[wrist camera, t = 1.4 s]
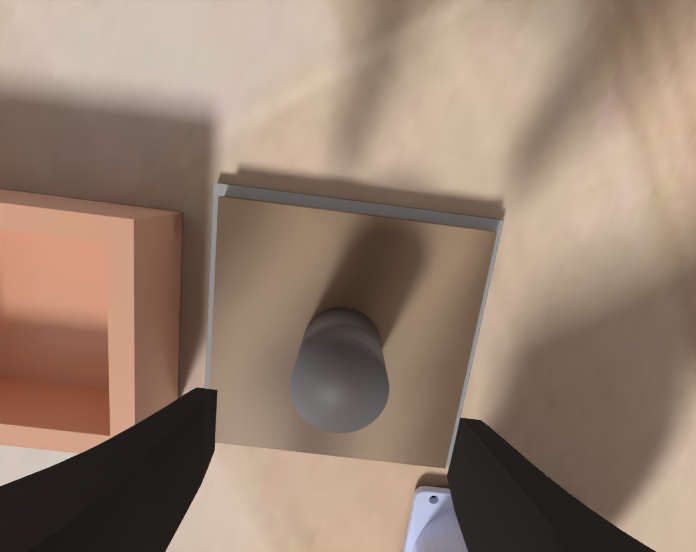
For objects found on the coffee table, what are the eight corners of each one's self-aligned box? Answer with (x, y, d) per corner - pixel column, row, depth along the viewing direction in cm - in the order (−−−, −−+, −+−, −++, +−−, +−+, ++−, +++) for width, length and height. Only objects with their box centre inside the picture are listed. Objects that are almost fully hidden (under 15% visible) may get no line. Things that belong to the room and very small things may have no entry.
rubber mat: (500, 219, 17) (503, 220, 17) (447, 460, 20) (449, 466, 20) (216, 182, 17) (213, 183, 17) (205, 433, 20) (202, 438, 20)
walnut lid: (490, 230, 17) (543, 246, 12) (441, 457, 20) (469, 541, 15) (224, 195, 17) (175, 199, 12) (212, 431, 19) (169, 508, 15)
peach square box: (182, 212, 17) (133, 219, 13) (177, 405, 20) (134, 459, 16) (-39, 184, 17) (-155, 183, 13) (-18, 382, 19) (-111, 432, 15)
